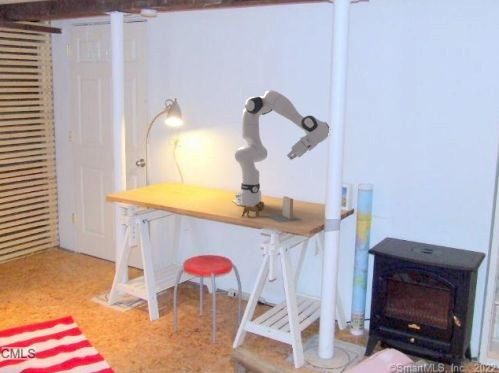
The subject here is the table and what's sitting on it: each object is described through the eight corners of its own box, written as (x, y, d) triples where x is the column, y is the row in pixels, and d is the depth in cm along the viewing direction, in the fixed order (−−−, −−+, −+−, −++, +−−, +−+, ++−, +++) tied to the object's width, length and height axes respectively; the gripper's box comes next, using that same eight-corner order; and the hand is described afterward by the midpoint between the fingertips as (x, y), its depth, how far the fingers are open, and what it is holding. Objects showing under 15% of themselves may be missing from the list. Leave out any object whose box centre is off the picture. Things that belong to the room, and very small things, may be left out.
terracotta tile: (282, 216, 330) (283, 196, 328) (285, 215, 331) (286, 196, 329) (289, 219, 323) (290, 199, 321) (292, 218, 324) (293, 198, 322)
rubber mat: (264, 216, 330) (264, 216, 330) (286, 214, 337) (286, 213, 337) (279, 223, 314) (279, 222, 314) (302, 220, 322) (302, 219, 322)
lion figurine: (262, 214, 336) (262, 200, 334) (265, 216, 331) (265, 202, 329) (239, 216, 330) (239, 201, 329) (243, 218, 325) (243, 203, 324)
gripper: (306, 142, 334) (288, 156, 336) (302, 136, 314) (283, 150, 316) (312, 150, 333) (294, 164, 334) (308, 144, 313) (289, 159, 314)
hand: (288, 157), depth 325 cm, fingers open, 8 cm apart
